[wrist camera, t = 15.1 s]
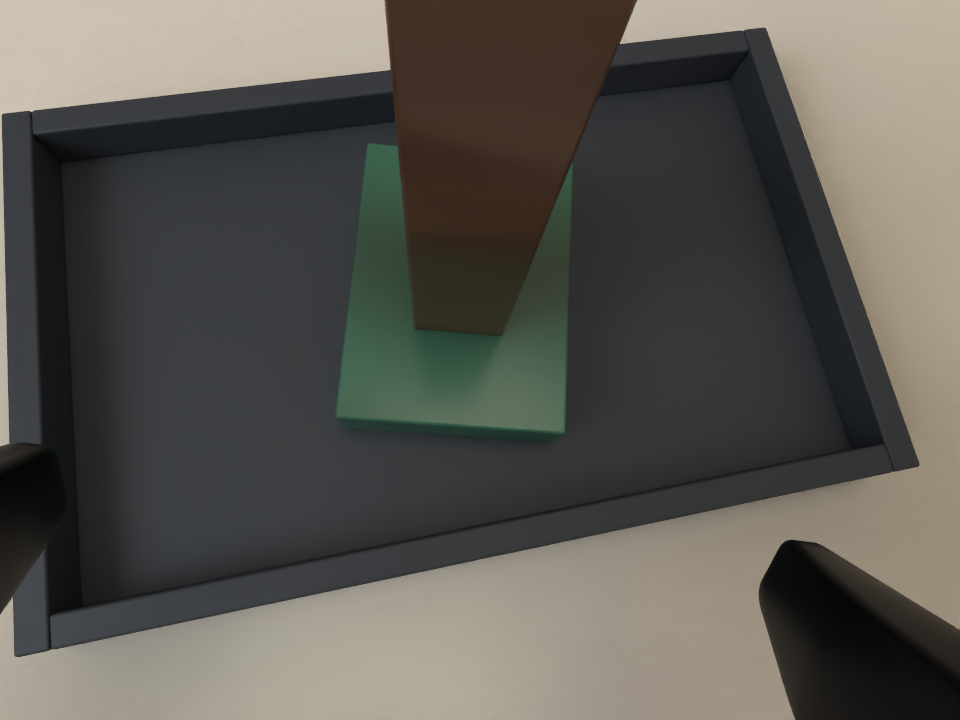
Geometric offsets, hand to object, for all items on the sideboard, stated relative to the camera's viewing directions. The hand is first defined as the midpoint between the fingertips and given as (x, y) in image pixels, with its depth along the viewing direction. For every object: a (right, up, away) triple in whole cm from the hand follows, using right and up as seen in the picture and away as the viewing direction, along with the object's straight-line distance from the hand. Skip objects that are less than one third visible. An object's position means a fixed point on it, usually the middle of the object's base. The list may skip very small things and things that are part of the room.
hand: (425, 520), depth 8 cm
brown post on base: (0, +4, +11) cm, 12 cm away
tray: (0, +3, +12) cm, 12 cm away
